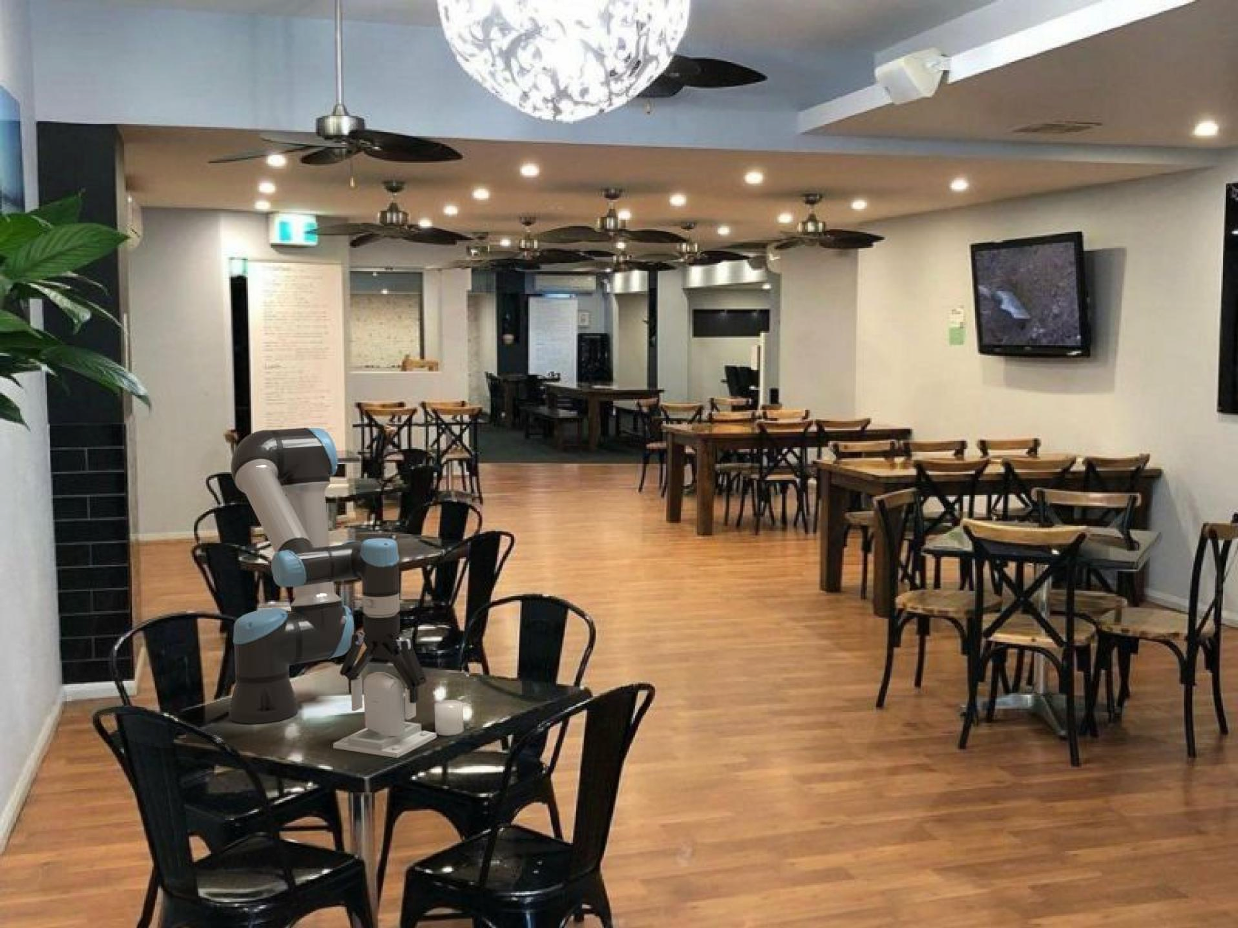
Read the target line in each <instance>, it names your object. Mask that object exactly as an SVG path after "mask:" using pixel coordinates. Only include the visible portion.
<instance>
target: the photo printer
mask: <svg viewBox="0 0 1238 928" xmlns="http://www.w3.org/2000/svg"><path fill="white" fill-rule="evenodd" d="M362 687H363V705H364V709H363V710H364V724H365V725H364V726H365V728H367V729H370V730H373V731H376V732H379V733H382V734H385V735H389V736H399V735H402V734H403V733H404V732H405V722H406V721H405V720H406V719H405V688H404V685H403V683H402V681H401V680H400V679H398V678H397V677H396V676H394V675H393V674H390V673H387V672H385V671H377V672H376V671H375V672H372V673H371V672H370V673H369V674H367V675H366V676H365V677H364V680H363V684H362Z"/></svg>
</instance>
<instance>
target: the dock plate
mask: <svg viewBox="0 0 1238 928" xmlns="http://www.w3.org/2000/svg"><path fill="white" fill-rule="evenodd" d="M436 738H437V733H436V732H432V731H428V730H422V724H421V723H418V722H411V721H410V722H409V721H405V732H404V733H403V734H402V735H399V736H389V735H385V734H382V733H379V732H376V731H373V730H370V729H367V728H366V727H365V728H363V729H361V730H358V731H357V732H354V733H352V734H351V735H347V736H346V737H342V738H341V739H340V740H337V741H335V742H333V746H332V747H333V749H337V750H345V751H349V752H350V751H351V752H355V753H356V752H357V753H363V754H369V755H375V756H382V757H390V758H399V757H402V756H404V755H406V754H408V753H409V752H412V751H413V750H416V749H418V748H419V747H421V746H424V745H425V744H427V743H429V742H431V741H432V740H435V739H436Z"/></svg>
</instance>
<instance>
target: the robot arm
mask: <svg viewBox="0 0 1238 928" xmlns="http://www.w3.org/2000/svg"><path fill="white" fill-rule="evenodd" d="M337 452H338V451H337V448H336V445H335V442H334V441H333V438H332V437H331V435H330V434H329V432H328V431H326V430H325V429H323V428H319V427H299V428H298V427H297V428H283V429H261V430H257V431H254V432H252V433H250V434H249V435H247V436H245V437H244V438H243V439H242V440H241V441H240V442H239V443H238V445H237V447H235V450H234V452H233V454H232V457H231V461H230V472H231V477H232V480H233V482H234V484H235V486H236V488H237V489H238V490H239V491H241V493H244V494H245V496H246V497H247V499H248V501H249V504H250V506H251V507H252V509H253V511H254V514H255V515H256V517H257V519H258V522H259V523H260V525H261V527H262V529H263V532H264V533H265V535H266V537H267V539H268V541H269V543H270V546H271V548H272V550H273V551H274V554H273V556H272V559H271V563H270V565H271V567H270V568H271V569H270V570H271V573H272V577H273V581H274V583H275V585H277V586H279V587H281V588H292V587H294V588H295V592H296V597H295V599H294V600H293V601H292V602H291V604H290V610H291V611H290V613H288V612H287V611H286V609H285V608H282V607H271V608H262V609H258V610H254V611H251V612H248V613H245V614H242V616H240V617H239V618H237V619H236V620H235V621H234V625H233V638H232V642H233V646H234V647H233V649H234V670H235V672H234V673H235V685H234V688H233V693H232V697H231V700H230V704H229V706H228V718H229V720H230V721H233V722H236V723H240V724H267V723H273V722H279V721H284V720H286V719H289V718H292V717H294V716H295V715H297V714H298V712H299V701H298V698H297V697H296V695H295V692H294V689H293V686H292V683H291V681H290V680H291V679H290V665H291V666H292V665H296V664H302V663H303V664H304V663H309V662H315V661H320V660H331V659H332V658H337V657H341V656H344V655H345V654H346V653H347V654H346V655H345V656H346V657H345V659H344V661H343V664H342V666H341V668H340V671H339V675H340V676H342V677H343V676H344V677H346V679H347V680H348V694H350V695H351V697H350V698H351V699H350V700H351V711H352V712H356V711H358V710H360V709H363V705H364V702H363V677H360V676H361V674H362V671H364V670H365V668H366V667H367V665H368V664H369V663H370V661H371V660H372V658H374V659H381V660H388V662H389V663H391V664H392V665H393V667H394V669H396V671H397V672H398V674H399V676H400V677H401V678H402V680H403V682H404V683H405V684H406V686H407V687H404V714H405V720H407V721H408V720H411V719H413V718H414V717H417V708H416V706H417V705H416V703H417V702H419V688H420V686H423V685H425V684H426V683H427V682H428V681H427V677H426V675H425V673H424V671H423V668H422V665H421V663H420V661H419V660H418V657H417V654H416V652H415V649H414V643H413V642H414V641H413V639H412V638H410V637H409V638H407V639H400V636H399V633H400V631H401V621H400V620H401V619H400V618H401V617H400V616H401V615H400V614H399V612H400V611H401V610H400V609H401V608H400V606H401V605H400V582H399V581H400V580H399V579H400V577H399V572H400V571H399V569H400V568H399V566H400V565H399V561H400V555H399V549H398V543H397V541H396V540H394V539H392V538H386V537H380V538H379V537H376V538H375V537H374V538H368V539H365V540H363V541H361V540H348V541H345V542H342V544H337V545H336V544H335V545H331V543H330V535H329V534H330V533H329V526H328V525H329V521H328V515H327V514H328V511H327V504H326V502H327V501H326V494H325V493H326V489H327V488H328V487H329V485H330V484H331V477H333V476H334V475H336V473H337V470H338V464H339V463H338V462H339V459H338V453H337ZM348 580H349V581H350V580H359V581H361V593H362V613H364V615H363V616H362V630H363V631H362V632H361V631H360V632H357V633H354V631H355V623H354V617H353V615H352V613H353V612H352V611H351V609H350V608H349V607H348V606H347V605H344V604H343V599H342V598H341V597H340V596H339V595H338V594H336V592H335V586H334V585H335V582H343V581H348ZM363 645H365V647H366V648H365V650H363V652H362V654H361V656H360V657H359V655H360V652H361V649H362V646H363ZM358 657H359V659H358ZM357 659H358V660H357Z"/></svg>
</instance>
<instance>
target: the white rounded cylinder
mask: <svg viewBox="0 0 1238 928" xmlns="http://www.w3.org/2000/svg"><path fill="white" fill-rule="evenodd" d="M463 705H464V703H463V701H462V700H459V699H458V700H457V699H446V700H440V701H437V702H435V703H434V726H435V727H434V728H435V731H434V733H436V735H440V736H454V735H460V734H461V733H463V732H464V706H463Z"/></svg>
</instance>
